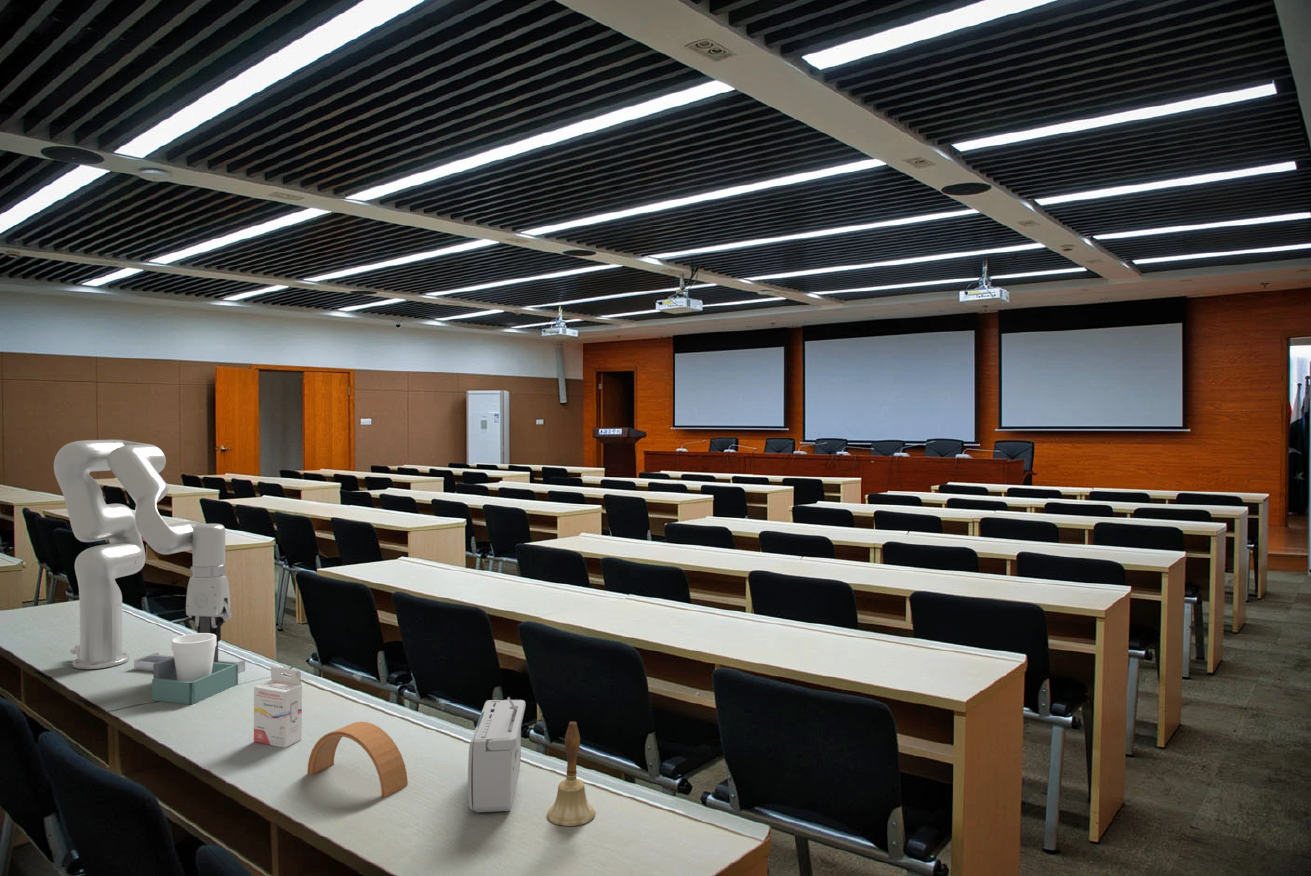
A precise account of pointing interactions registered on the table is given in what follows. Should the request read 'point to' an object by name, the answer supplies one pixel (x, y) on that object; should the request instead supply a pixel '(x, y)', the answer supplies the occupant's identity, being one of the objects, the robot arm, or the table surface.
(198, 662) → the foam cup
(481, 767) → the stereo radio cassette player
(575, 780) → the hand bell
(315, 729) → the table surface
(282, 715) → the ink cartridge box
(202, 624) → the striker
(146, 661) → the striker rails
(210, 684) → the box
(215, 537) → the robot arm
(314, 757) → the arch
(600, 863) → the table surface
